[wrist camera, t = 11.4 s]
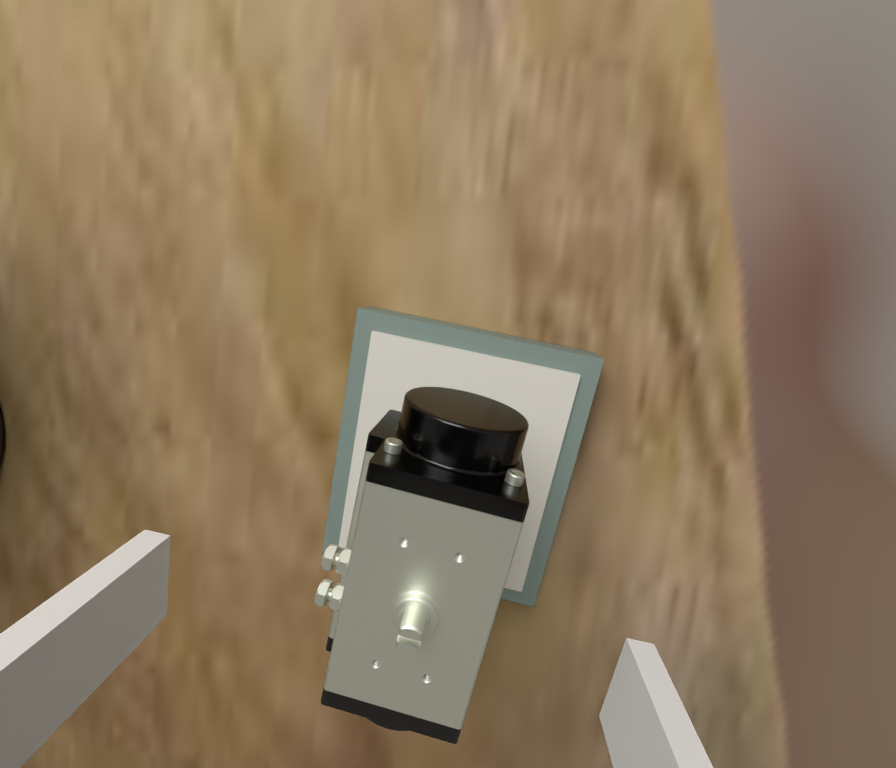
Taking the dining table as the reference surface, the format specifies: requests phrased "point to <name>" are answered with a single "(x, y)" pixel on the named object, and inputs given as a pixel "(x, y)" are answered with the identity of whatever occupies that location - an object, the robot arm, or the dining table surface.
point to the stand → (480, 372)
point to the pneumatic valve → (425, 560)
